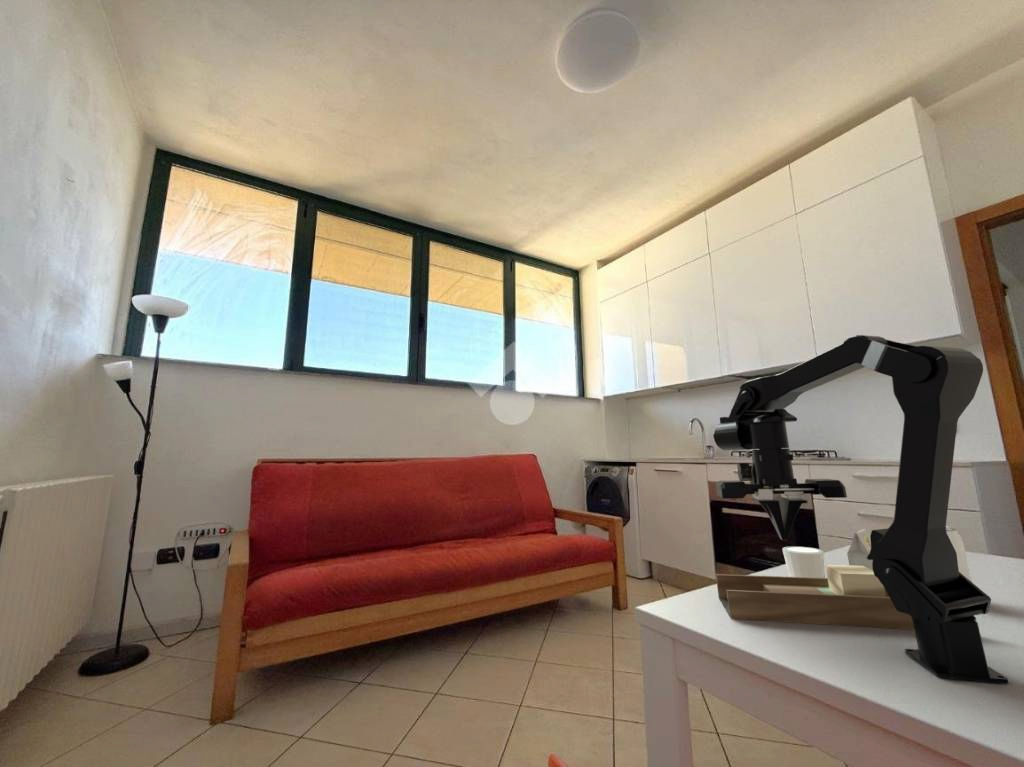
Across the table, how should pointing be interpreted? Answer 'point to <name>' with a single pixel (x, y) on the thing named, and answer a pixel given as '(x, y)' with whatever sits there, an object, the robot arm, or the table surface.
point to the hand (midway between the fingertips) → (784, 539)
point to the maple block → (853, 581)
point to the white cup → (804, 562)
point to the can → (959, 552)
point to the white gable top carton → (860, 549)
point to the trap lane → (805, 602)
